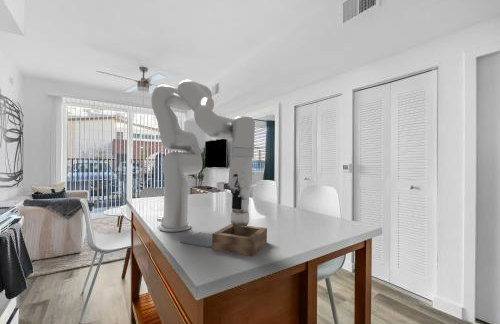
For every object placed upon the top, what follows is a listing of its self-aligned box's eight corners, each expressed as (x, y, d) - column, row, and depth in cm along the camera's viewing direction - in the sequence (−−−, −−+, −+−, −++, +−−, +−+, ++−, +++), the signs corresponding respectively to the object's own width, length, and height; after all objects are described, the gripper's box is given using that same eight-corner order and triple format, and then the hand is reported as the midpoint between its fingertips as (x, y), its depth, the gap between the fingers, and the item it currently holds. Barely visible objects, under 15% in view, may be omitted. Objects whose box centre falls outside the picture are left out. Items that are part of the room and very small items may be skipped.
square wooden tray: (212, 249, 77) (212, 233, 77) (230, 237, 90) (231, 223, 90) (253, 256, 72) (253, 239, 72) (266, 242, 85) (267, 228, 85)
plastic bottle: (233, 229, 77) (236, 167, 77) (227, 224, 83) (229, 166, 83) (252, 228, 80) (254, 167, 79) (244, 222, 86) (246, 166, 86)
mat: (180, 242, 83) (180, 241, 83) (199, 233, 94) (199, 232, 94) (210, 247, 78) (210, 246, 78) (227, 237, 90) (227, 236, 90)
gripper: (242, 154, 91) (240, 202, 91) (220, 152, 75) (218, 210, 75) (261, 155, 88) (259, 204, 88) (243, 153, 72) (240, 213, 72)
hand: (240, 206), depth 81 cm, fingers closed on plastic bottle, 5 cm apart
